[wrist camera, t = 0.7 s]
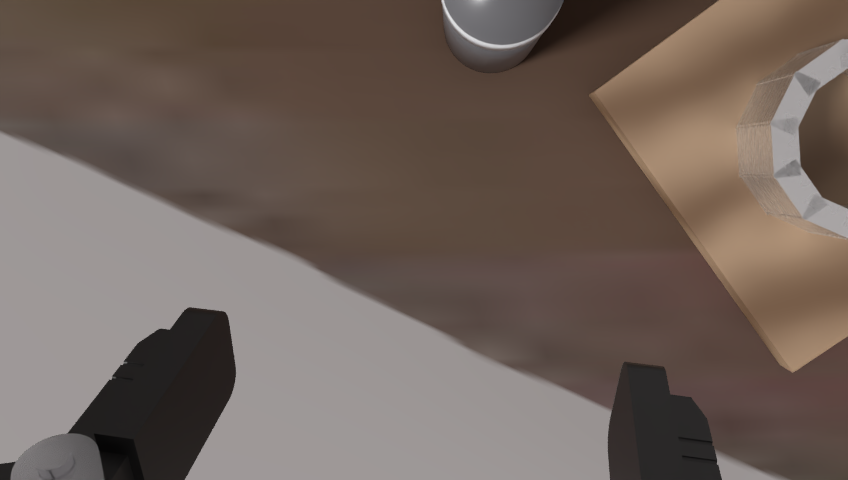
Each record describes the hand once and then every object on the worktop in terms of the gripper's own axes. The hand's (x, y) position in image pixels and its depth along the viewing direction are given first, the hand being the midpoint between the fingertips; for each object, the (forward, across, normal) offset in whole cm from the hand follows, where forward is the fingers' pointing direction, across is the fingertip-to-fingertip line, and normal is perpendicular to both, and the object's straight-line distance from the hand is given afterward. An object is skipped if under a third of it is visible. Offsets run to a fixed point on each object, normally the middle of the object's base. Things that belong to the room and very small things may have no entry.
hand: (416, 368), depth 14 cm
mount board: (+27, -17, +5) cm, 32 cm away
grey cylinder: (+27, +1, 0) cm, 27 cm away
